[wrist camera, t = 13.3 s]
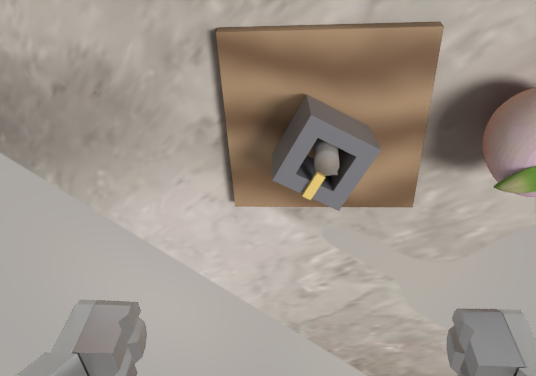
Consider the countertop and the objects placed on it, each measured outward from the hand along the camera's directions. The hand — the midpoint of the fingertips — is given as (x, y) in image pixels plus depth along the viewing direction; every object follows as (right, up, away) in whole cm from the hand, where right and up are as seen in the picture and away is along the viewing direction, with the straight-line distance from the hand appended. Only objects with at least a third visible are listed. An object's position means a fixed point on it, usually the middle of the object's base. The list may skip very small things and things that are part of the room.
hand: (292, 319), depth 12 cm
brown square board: (+5, +9, +31) cm, 33 cm away
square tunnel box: (+4, +8, +30) cm, 31 cm away
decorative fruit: (+22, +10, +29) cm, 38 cm away
